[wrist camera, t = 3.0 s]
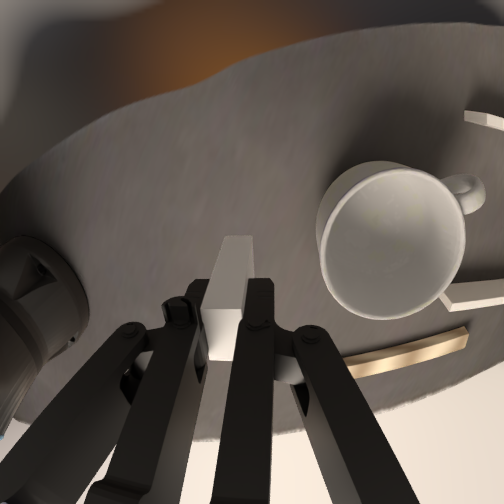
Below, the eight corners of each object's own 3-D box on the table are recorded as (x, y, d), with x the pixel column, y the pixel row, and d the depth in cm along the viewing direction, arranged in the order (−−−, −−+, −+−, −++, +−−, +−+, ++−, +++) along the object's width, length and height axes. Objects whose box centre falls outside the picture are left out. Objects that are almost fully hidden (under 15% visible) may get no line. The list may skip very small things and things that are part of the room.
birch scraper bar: (291, 379, 34) (291, 389, 33) (288, 367, 33) (288, 376, 32) (460, 340, 31) (464, 347, 30) (464, 326, 30) (469, 333, 29)
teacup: (329, 283, 28) (346, 341, 21) (286, 177, 24) (295, 208, 17) (454, 231, 25) (499, 272, 18) (432, 123, 21) (489, 136, 13)
